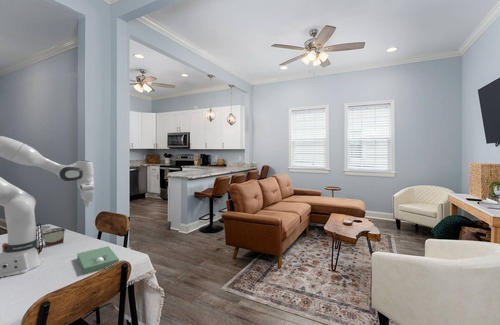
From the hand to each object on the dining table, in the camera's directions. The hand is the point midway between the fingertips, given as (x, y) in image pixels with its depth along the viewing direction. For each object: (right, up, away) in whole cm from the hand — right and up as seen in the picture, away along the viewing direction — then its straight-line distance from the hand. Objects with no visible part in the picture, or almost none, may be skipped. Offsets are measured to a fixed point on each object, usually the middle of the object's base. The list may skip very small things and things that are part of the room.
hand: (86, 206), depth 153 cm
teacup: (-45, -26, +17) cm, 55 cm away
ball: (+23, -26, -22) cm, 41 cm away
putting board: (+19, -28, -18) cm, 38 cm away
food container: (-27, -27, +6) cm, 39 cm away
